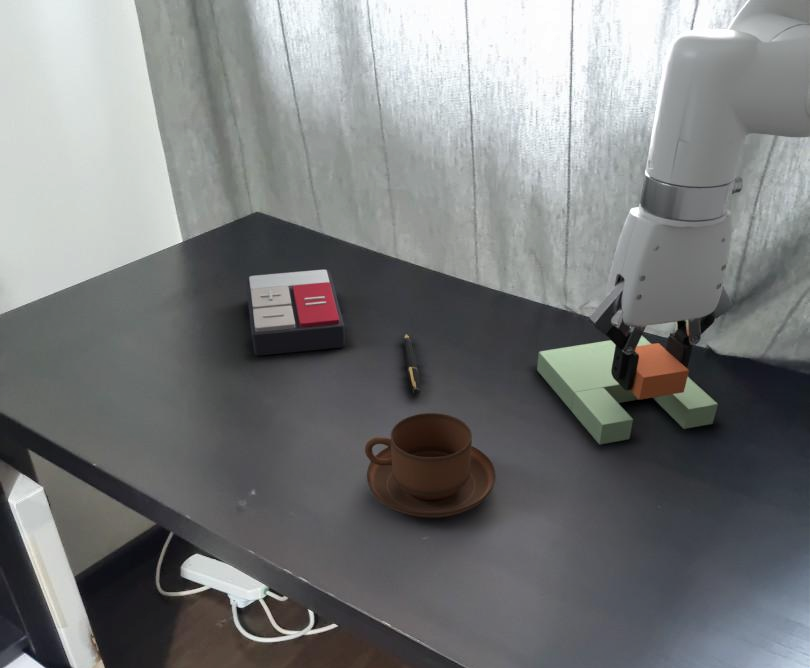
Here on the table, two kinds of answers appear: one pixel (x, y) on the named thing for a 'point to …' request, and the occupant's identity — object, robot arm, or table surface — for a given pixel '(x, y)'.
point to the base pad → (612, 391)
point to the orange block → (658, 373)
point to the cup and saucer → (429, 467)
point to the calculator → (294, 312)
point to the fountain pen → (412, 366)
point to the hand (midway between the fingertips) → (647, 377)
